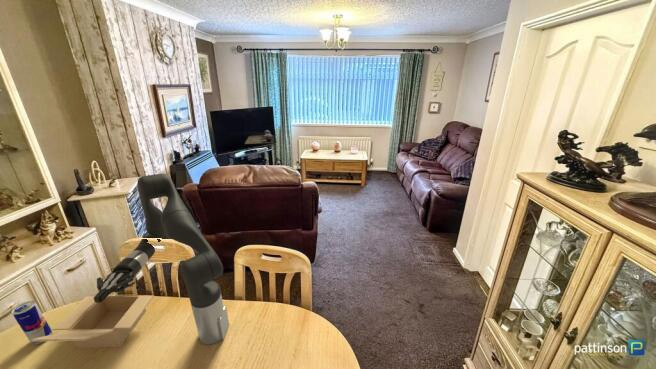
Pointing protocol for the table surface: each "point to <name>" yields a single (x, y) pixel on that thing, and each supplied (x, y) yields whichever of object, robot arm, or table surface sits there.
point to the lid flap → (72, 335)
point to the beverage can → (31, 321)
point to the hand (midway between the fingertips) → (96, 300)
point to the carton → (105, 319)
